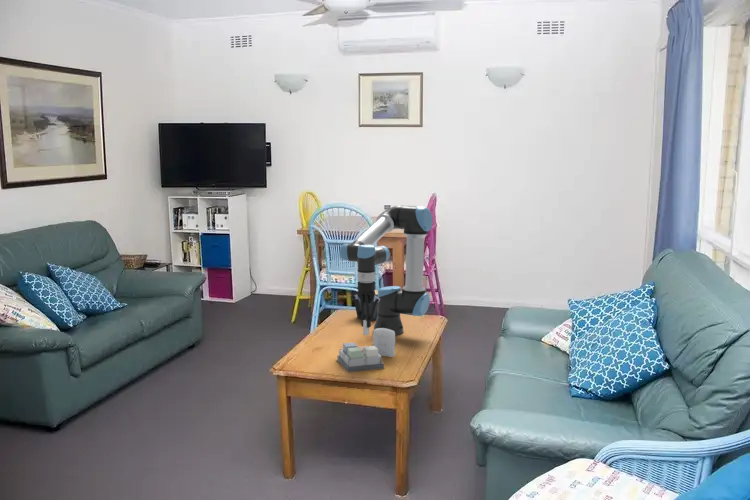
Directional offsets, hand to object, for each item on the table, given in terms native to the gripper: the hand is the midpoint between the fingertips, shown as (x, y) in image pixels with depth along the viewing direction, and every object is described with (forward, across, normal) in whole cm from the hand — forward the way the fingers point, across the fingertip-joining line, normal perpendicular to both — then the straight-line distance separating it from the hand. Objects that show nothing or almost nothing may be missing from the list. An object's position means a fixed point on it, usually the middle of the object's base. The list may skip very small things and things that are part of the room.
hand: (366, 334), depth 270 cm
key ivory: (+7, +5, -5) cm, 10 cm away
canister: (+13, -32, +66) cm, 74 cm away
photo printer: (+12, +4, +11) cm, 17 cm away
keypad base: (+12, 0, -6) cm, 13 cm away
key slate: (+7, -5, -5) cm, 10 cm away
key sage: (+7, 0, -10) cm, 13 cm away
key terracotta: (+10, 0, -1) cm, 10 cm away
